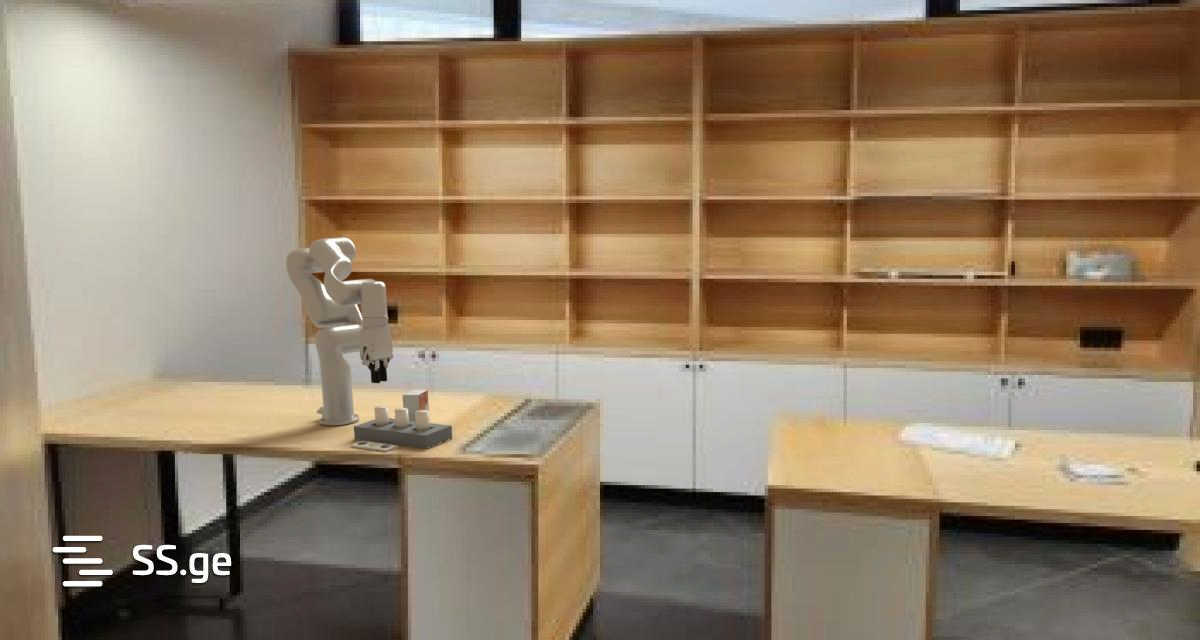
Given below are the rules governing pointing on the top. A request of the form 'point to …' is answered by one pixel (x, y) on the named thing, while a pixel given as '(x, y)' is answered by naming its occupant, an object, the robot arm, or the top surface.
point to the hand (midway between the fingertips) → (379, 381)
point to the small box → (415, 402)
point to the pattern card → (373, 446)
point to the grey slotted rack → (403, 434)
